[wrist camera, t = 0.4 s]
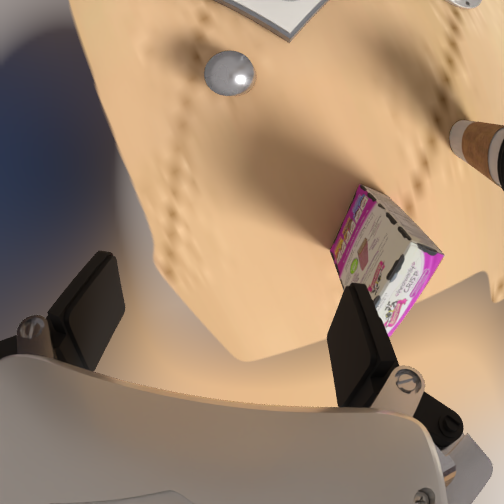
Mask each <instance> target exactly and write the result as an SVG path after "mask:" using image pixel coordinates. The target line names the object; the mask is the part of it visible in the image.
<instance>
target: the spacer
mask: <svg viewBox="0 0 504 504" xmlns="http://www.w3.org/2000/svg"><path fill="white" fill-rule="evenodd" d="M204 77H205V81H206V83H207V85H208V87H209V88H210V89H211V90H212V91H214V92H215V93H217V94H220V95H225V96H240V95H243V94H245V93H247V92H249V91H250V90H251V89H252V88H253V86H254V84H255V82H256V71H255V69H254V67H253V65H252V63H251V62H250V60H249V59H248V58H247V57H246V56H245V55H243V54H241V53H239V52H236V51H224V52H220V53H218V54H216V55H215V56H213V57H212V58H211V59H210V60H209V61H208V63H207V65H206V67H205V71H204Z"/></svg>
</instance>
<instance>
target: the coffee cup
mask: <svg viewBox="0 0 504 504" xmlns="http://www.w3.org/2000/svg"><path fill="white" fill-rule="evenodd" d="M449 140H450V146H451V149H452V151H453V152H454V154H455V155H456V156H458V157H459V158H461V159H462V160H464V161H465V162H467V163H468V164H470V165H471V166H472V167H474V168H475V169H477V170H478V171H479V172H481V173H482V174H483V175H485V176H486V177H487V178H489V179H490V180H491V181H492V182H494V183H495V184H496V185H498V186H500V187H501V188H502V189H503V191H504V126H503V125H497V124H490V123H483V122H474V121H467V120H460V121H458V122H456V123H455V124H454V125H453V127H452V129H451V131H450V137H449Z"/></svg>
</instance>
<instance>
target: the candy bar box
mask: <svg viewBox="0 0 504 504" xmlns="http://www.w3.org/2000/svg"><path fill="white" fill-rule="evenodd" d="M330 253H331V255H332V258H333V261H334V264H335V267H336V269H337V272H338V275H339V278H340V281H341V284H342V287H343V290H344V289H345V287H346V286H350V284H351V283H362V284H366V286H367V288H368V291H369V293H370V295H371V298H372V300H373V303H374V305H375V308H376V310H377V312H378V315H379V317H380V318H381V319H382V321H383V324H384V326H385V329H386V331H387V334H388V336H389V337H390V336H391V335H392V334H393V333H394V331H395V330H396V329H397V327H398V326H399V325H400V323H401V322H402V320H403V319H404V318H405V316H406V315H407V313H408V312H409V311H410V309H411V308H412V306H413V305H414V303H415V302H416V301H417V299H418V298H419V296H420V294H421V293H422V291H423V290H424V288H425V287H426V285H427V284H428V282H429V281H430V279H431V277H432V276H433V274H434V273H435V271H436V269H437V268H438V266H439V264H440V263H441V261H442V259H443V257H444V256H445V255H444V254H443V253H442V251H441V250H440V249H439V248H438V247H437V246H436V245H435V244H434V243H433V241H432V240H431V239H430V238H429V237H428V236H427V235H426V234H425V233H424V232H423V231H422V230H421V229H420V228H419V226H418V225H417V224H416V223H414V221H413V220H412V219H411V218H410V217H409V216H408V215H407V214H406V213H405V212H404V211H403V210H402V209H401V208H400V207H399V206H398V205H397V204H396V203H395V202H394V201H392V200H391V199H390V198H389V197H388V196H387V195H385V194H383V193H380V192H378V191H375V190H373V189H371V188H369V187H366V186H364V185H362V184H360V185H359V186H358V189H357V191H356V194H355V196H354V198H353V201H352V203H351V206H350V208H349V210H348V212H347V215H346V217H345V219H344V222H343V224H342V226H341V228H340V230H339V233H338V235H337V237H336V239H335V241H334V243H333V245H332V248H331V250H330Z"/></svg>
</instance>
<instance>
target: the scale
mask: <svg viewBox="0 0 504 504" xmlns="http://www.w3.org/2000/svg"><path fill="white" fill-rule="evenodd" d="M214 1H216V2H218V3H220V4H222V5H224V6H226V7H228V8H230V9H232V10H234V11H236V12H238V13H240V14H242V15H244V16H246V17H247V18H249V19H251V20H253V21H255V22H256V23H258V24H260V25H261V26H263V27H265V28H267V29H268V30H270V31H271V32H273V33H275V34H276V35H278V36H279V37H281V38H283V39H284V40H286V41H287V42H289V43H290V42H291V40H292V39H293V38H294V37H295V36H296V35H297V34H298V33H299V31H300V30H301V29H302V28H303V27H304V26H305V25H306V24H307V23H308V22H309V21H310V20H311V18H312V17H313V16H314V15H315V14H316V13H317V12H318V11H319V10H320V9H321V8H322V7H323V6H324V5H325V4H326V3H327V2H328V1H329V0H298V1H284V0H214Z"/></svg>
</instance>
